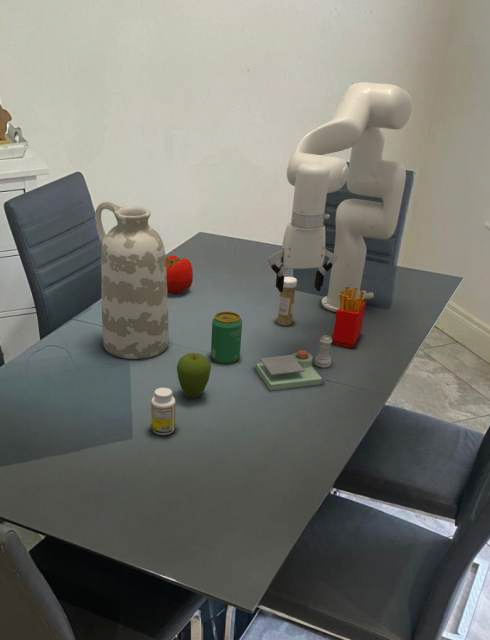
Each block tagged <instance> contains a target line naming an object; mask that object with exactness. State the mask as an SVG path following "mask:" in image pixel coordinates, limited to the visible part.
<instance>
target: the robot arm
mask: <svg viewBox="0 0 490 640" xmlns="http://www.w3.org/2000/svg"><path fill="white" fill-rule="evenodd" d="M412 103H413V102H412V97H411V95H410V94H409V92H407V91H406V90H405V89H403V88H402V87H400V86H398V85H395V84H390V83H381V82H370V81H369V82H366V81H360V82H355V83H353V84H351V85H350V86H348V87H347V89H346V90H345V91H344V94H343V95H342V97H341V99H340V100H339V103H338V106H337V107H336V108H335V111H334V113H333V115H332V117H331V119H330V120H329V121H328V122H326V123H323V124H321V125H320V126H318V127H316V128H314V129H313V130H312V131H309V132H308V133H307V134H306V135H304V136H303V137H302V138H301V139H300V140H299V142H298V143H297V145H296V147H295V148H294V151H293V152H292V155H291V156H290V159H289V162H288V164H287V169H286V178H287V181H288V183H289V184H290V185H291V186H292V187H294V193H293V200H292V211H291V218H290V219H291V220H290V222H288V223H287V224H286V227H285V231H284V235H283V239H282V244H281V249H280V250H278V251H276V252H274V253H271V255H269V256H267V261H268V263H269V266H270V268H271V270H272V271H273V272H274V273H275V274H276V276H275V277H276V279H275V288H277V290H278V293H280V292H283V285H284V277H285V275H284V274H286V272H287V271H288V270H300V269H301V270H303V269H304V270H307V269H317V271H316V272H315V279H314V285H313V286H314V288H315V290H316V291H317V292H320V291H321V288H322V287H323V286H324V281H325V280H324V278H325V275H327V273H328V272H329V271H330V276H329V283H328V289H327V295H326V296H324V297H323V298H322V299H321V302H320V303H321V306H322V307H323V309H325V310H327V311H329V312H333V313H336V312H337V310H339V308H340V298H339V295H340V294H341V291H344V295H345V288H346V287H347V286H348V287H349V290H350V289H352V290H353V291H354V288H357V292H356V297H355V300H356V298H358V297H359V298H360V292H361V291H362V290H361V286H362V281H363V276H364V275H363V274H364V270H365V264H366V259H367V258H366V257H367V244H366V242H365V240H364V238H363V237H366V238H372V239H379V240H388V239H390V238H391V237H392V236H393V235H394V234H395V231H396V229H397V225H398V220H399V216H400V211H401V206H402V202H403V196H404V191H405V185H406V179H407V172H406V168H405V166H404V164H403V163H401V162H399V161H394V160H385V159H383V153H384V146H385V135H384V132H383V130H382V129H388V130H401V129H403V128H404V127H405V126H406V125H407V124H408V121H409V120H410V117H411V114H412V110H413V109H412V108H413V104H412ZM349 149H351V150H350V158H349V163H347V162H346V160H345V159H343V158H340V157H338V156H337V157H336V156H331V155H328V154H334V153H339V152H342V151H345V150H349ZM345 184H346V189H347V191H349V192H350V193H351V194H354V195H359V196H364V197H371V198H380V199H382V202H381V201H380V202H379V201H373V200H367V199H361V198H348V199H344V200H343V201H341V202H340V203H339V205H337V208H336V211H335V238H334V239H335V240H334V247H333V252H331V251H330V250H328V249H326V226H325V222H326V221H330V214H329V213H326V212H325V209H326V202H327V194H331V193H335V192H337V191H339V190H340V189H342V188H343V187H344V186H345ZM325 257H327V258H328V260H327V261H326V262H325V263H324V261H325ZM277 260H279V261H280V264H278V265H277V264H276V261H277ZM363 291H364V293H363V298H364V300H372V299H374V297H375V294H374V292H367V290H363ZM352 296H353V292H352ZM351 300H352V298H351Z"/></svg>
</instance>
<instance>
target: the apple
mask: <svg viewBox="0 0 490 640" xmlns="http://www.w3.org/2000/svg"><path fill="white" fill-rule="evenodd" d="M211 365H212V364H211V363H210V360H209V359H208V358H207V357H206V356H205V355H204V354H202V353H199V352H191V353H187V354H184V355H183V356H181V357H180V358H179V360H178V362H177V365H176V372H177V379H178V381H179V385H180V389H181V390H182V392H183V393H184V395H186V397H187V398H189V399H195V398H197V397H199V396H200V395H201V394H202V393H203V392H204V391H205V389H206V387H207V385H208V382H209V380H210V375H211V370H212V366H211Z"/></svg>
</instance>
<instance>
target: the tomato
mask: <svg viewBox="0 0 490 640" xmlns="http://www.w3.org/2000/svg"><path fill="white" fill-rule="evenodd" d="M165 258H166V275H167V294H169V295H179V294H180V295H181V294H183V293H184V292H185V291H186V290H189V288H190V287H191V286H192V285H193V279H194V274H193V273H194V272H193V266H192V263H191V261H190V259H188V258H185V257H182V258H181V257H178V256H177V255H172V254H171V255H169V256H168V257H166V256H165Z"/></svg>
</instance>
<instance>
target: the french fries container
mask: <svg viewBox="0 0 490 640" xmlns="http://www.w3.org/2000/svg"><path fill="white" fill-rule="evenodd" d="M360 291H361V292H360V298H359V297H358V298H356V300H355V297H356V292H357V288H354V291H353V290H352V289H350V290H349V287H348V286H347V287H346V288H345V295H344V291H341V294H340V295H339V298H340V308H339V310H337V312H335V318H334V325H333V332H332V337H331V339H332V342H331V344H334V346H335V345H336V346H339V347H340V346H342V347H346V348H354V347H355V345H356V343H358V342H357V341H358V340H359V338H360V336H361V333H362V327H363V323H364V321H363V320H364V316H365V310H366V306H367V305H366V304H367V301H365V299H364V298H363V293H364V291H365V290H360ZM352 292H353V296H352ZM351 298H352V300H351Z"/></svg>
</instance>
